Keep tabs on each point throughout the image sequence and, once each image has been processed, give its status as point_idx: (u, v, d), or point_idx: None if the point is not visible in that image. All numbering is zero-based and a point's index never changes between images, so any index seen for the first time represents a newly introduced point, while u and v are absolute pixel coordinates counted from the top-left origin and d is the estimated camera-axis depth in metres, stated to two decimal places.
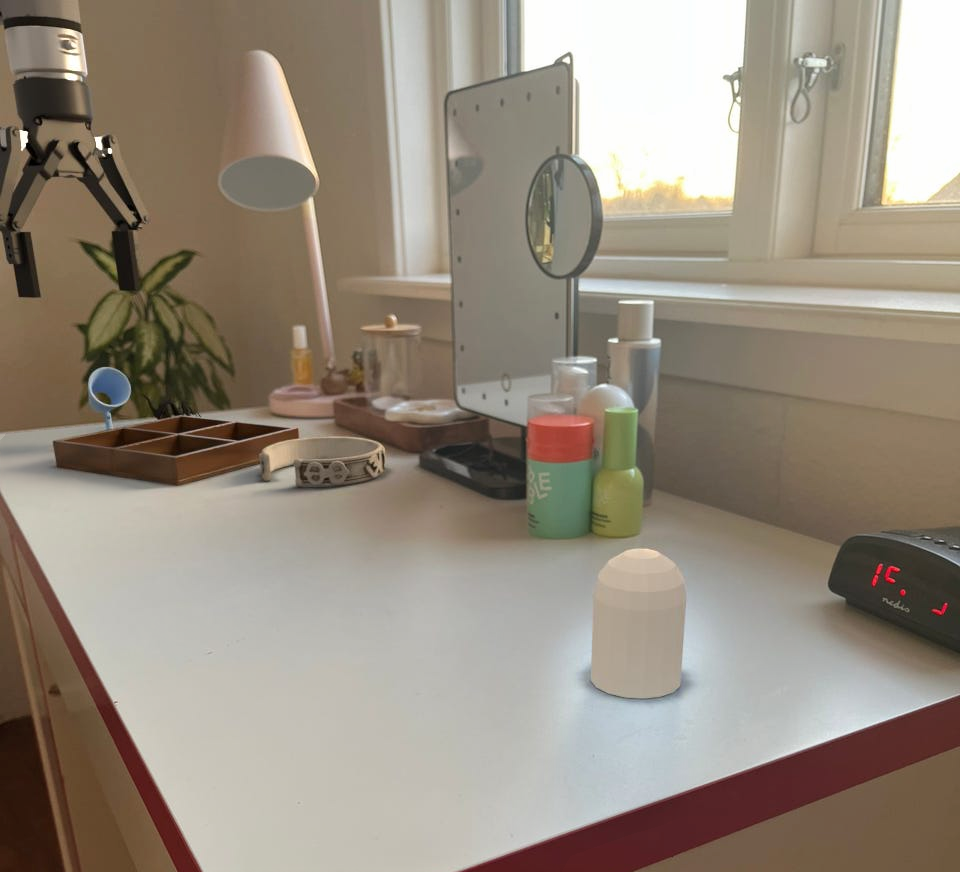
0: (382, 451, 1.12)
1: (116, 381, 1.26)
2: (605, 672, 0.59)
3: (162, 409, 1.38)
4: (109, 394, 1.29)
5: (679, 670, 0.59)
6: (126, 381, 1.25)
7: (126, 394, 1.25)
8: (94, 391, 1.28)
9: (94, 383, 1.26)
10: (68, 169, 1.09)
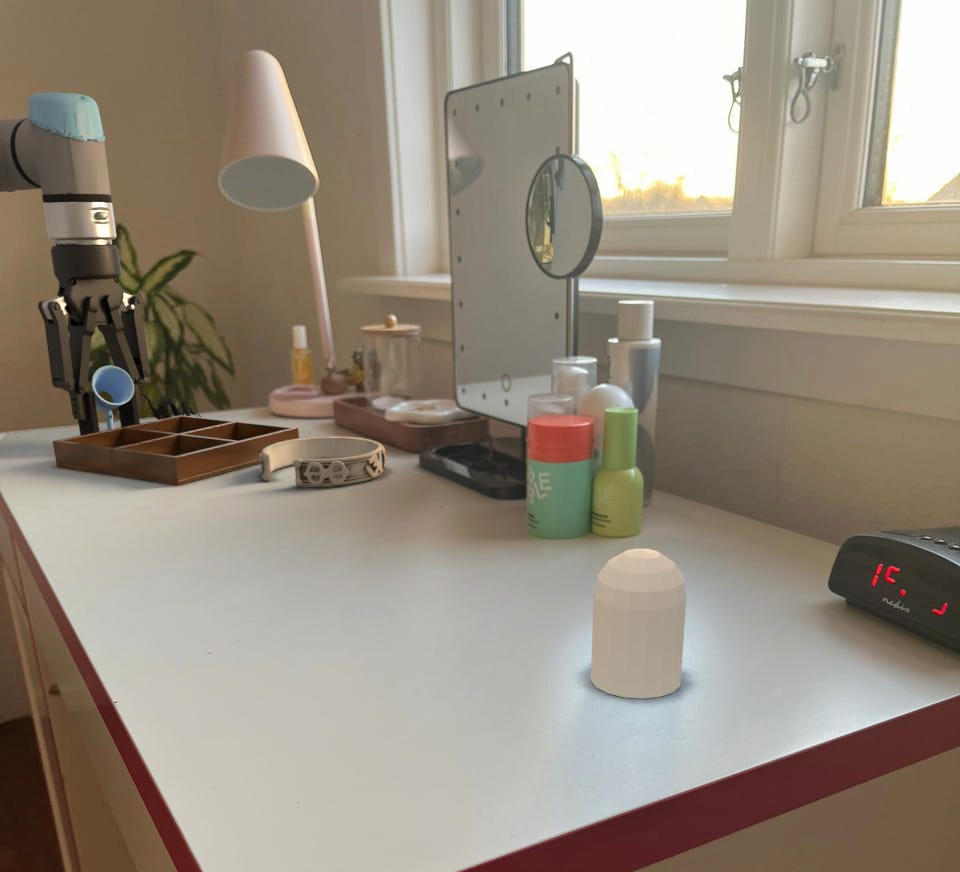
0: (382, 451, 1.12)
1: (119, 380, 1.27)
2: (605, 672, 0.59)
3: (162, 409, 1.38)
4: (112, 393, 1.29)
5: (679, 670, 0.59)
6: (130, 380, 1.26)
7: (129, 393, 1.26)
8: (97, 390, 1.28)
9: (98, 381, 1.26)
10: (98, 320, 1.22)
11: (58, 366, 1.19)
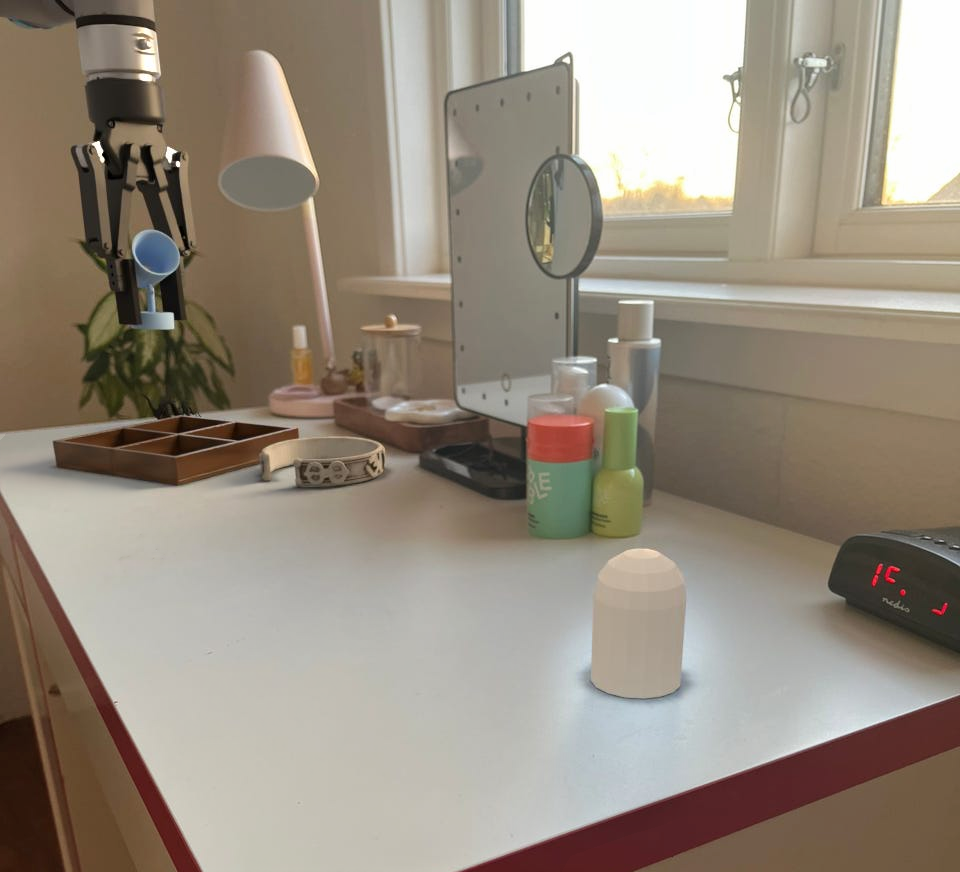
0: (382, 451, 1.12)
1: (162, 250, 1.10)
2: (605, 672, 0.59)
3: (162, 409, 1.38)
4: (152, 268, 1.12)
5: (679, 670, 0.59)
6: (175, 248, 1.08)
7: (174, 263, 1.09)
8: None
9: (137, 250, 1.09)
10: (140, 174, 1.05)
11: (94, 224, 1.02)
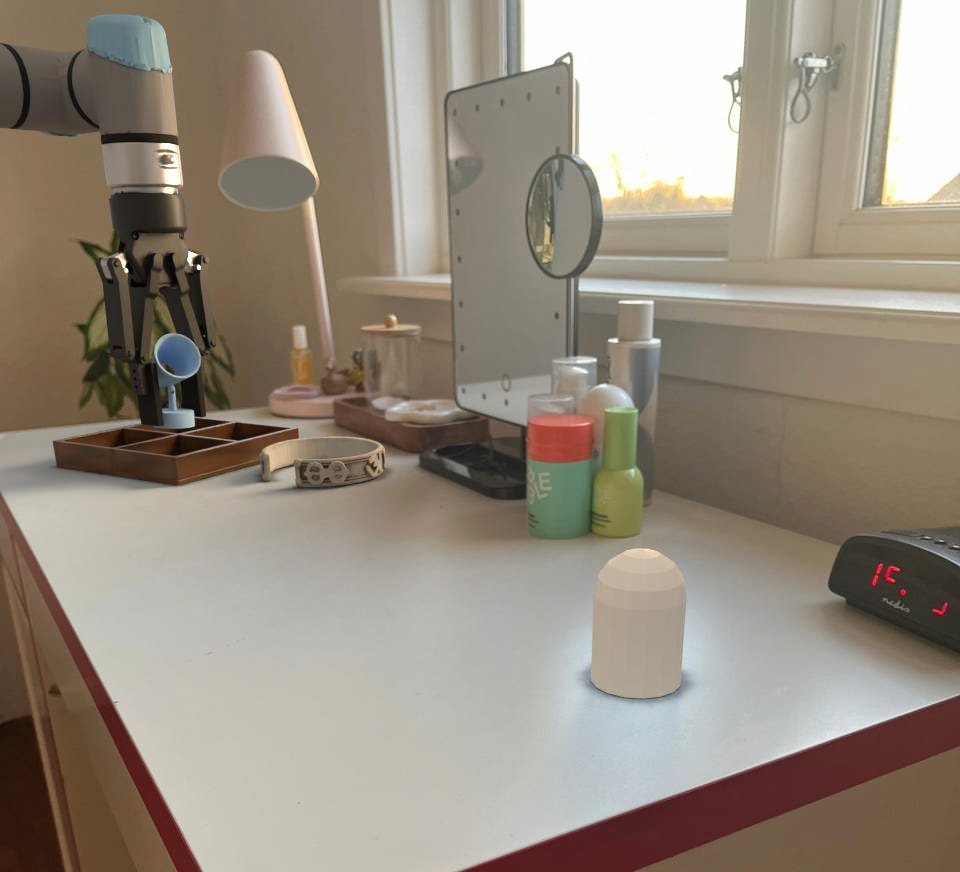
0: (382, 451, 1.12)
1: (183, 351, 1.12)
2: (605, 672, 0.59)
3: None
4: (173, 366, 1.14)
5: (679, 670, 0.59)
6: (196, 351, 1.11)
7: (195, 365, 1.11)
8: None
9: (159, 352, 1.11)
10: (162, 280, 1.07)
11: (118, 333, 1.05)
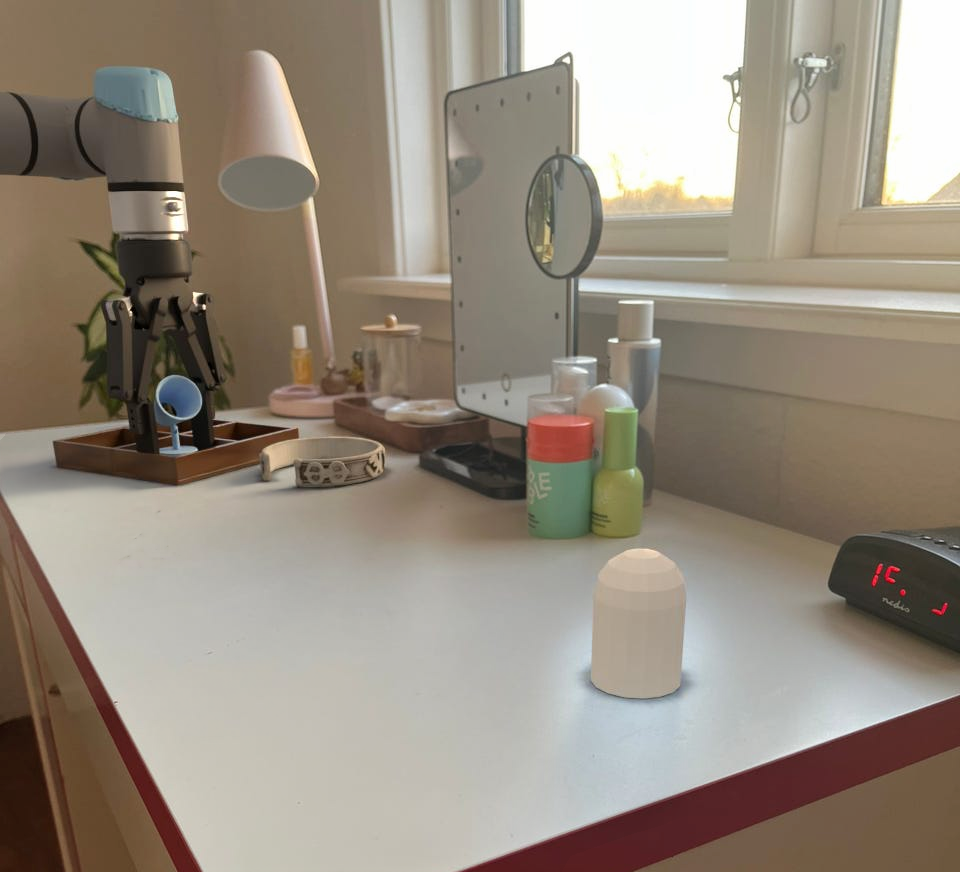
0: (382, 451, 1.12)
1: (184, 391, 1.13)
2: (605, 672, 0.59)
3: None
4: (175, 405, 1.15)
5: (679, 670, 0.59)
6: (196, 391, 1.12)
7: (196, 405, 1.12)
8: (159, 402, 1.14)
9: (160, 393, 1.12)
10: (167, 324, 1.09)
11: (117, 373, 1.05)
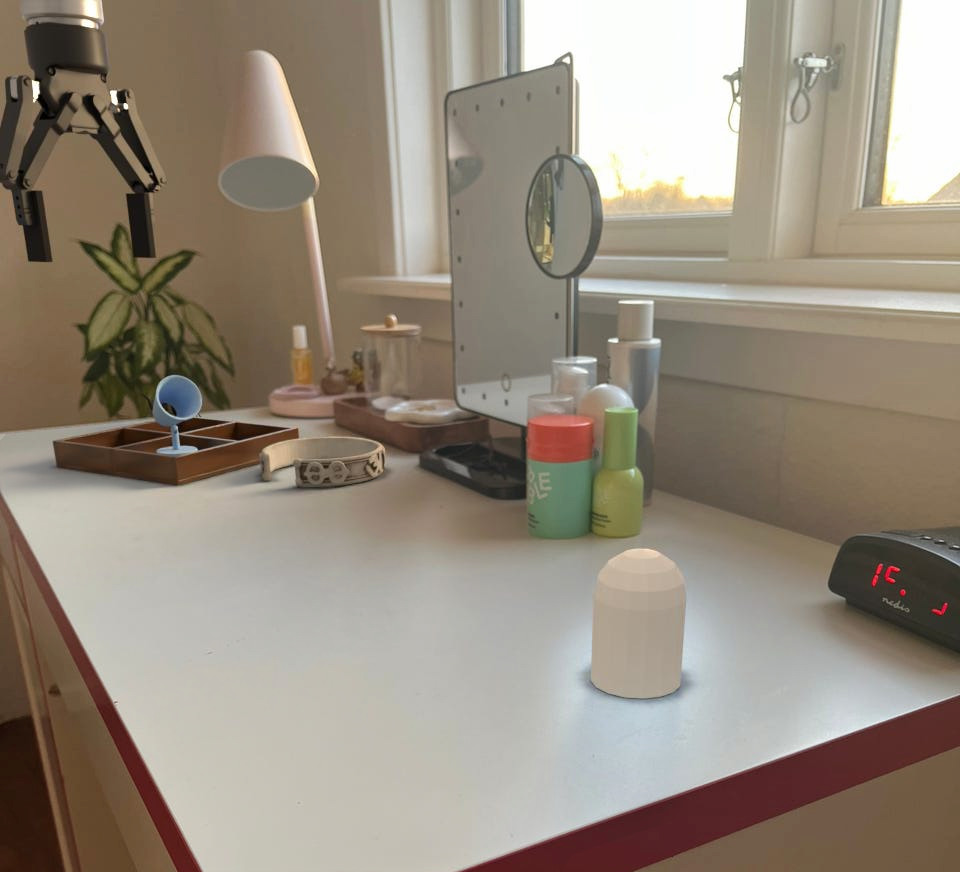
0: (382, 451, 1.12)
1: (184, 391, 1.13)
2: (605, 672, 0.59)
3: None
4: (175, 405, 1.15)
5: (679, 670, 0.59)
6: (197, 391, 1.12)
7: (196, 405, 1.12)
8: None
9: (160, 393, 1.12)
10: (82, 124, 1.02)
11: (4, 151, 0.96)
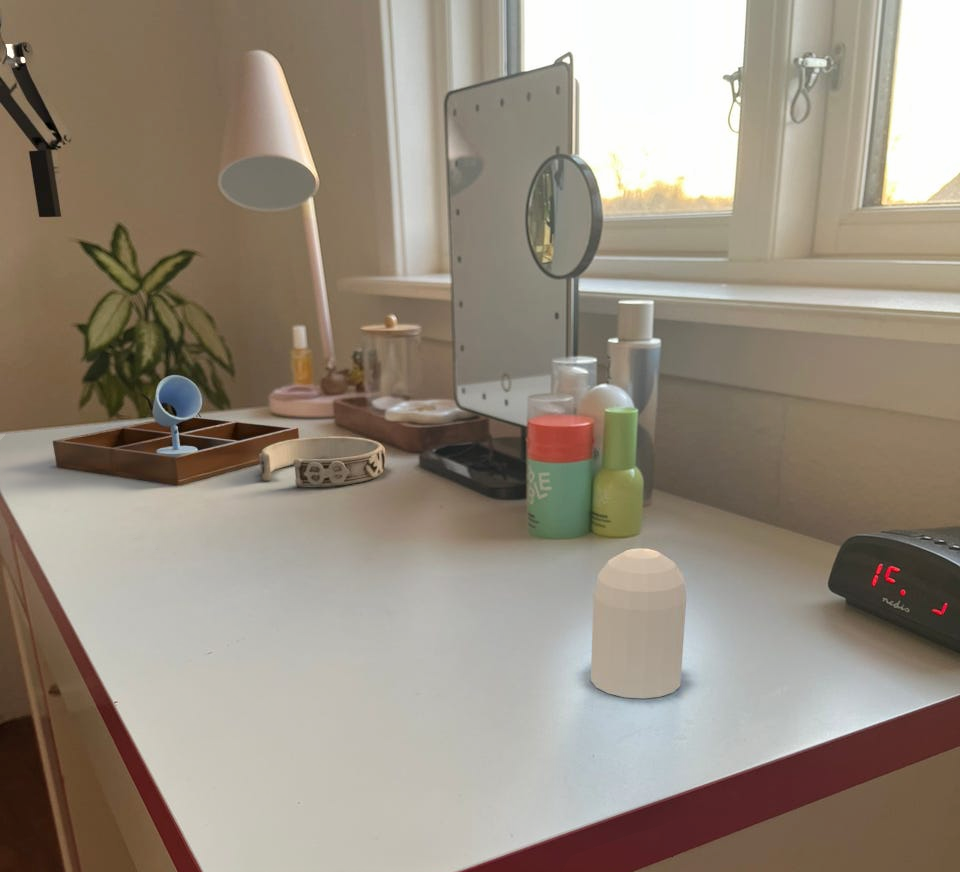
0: (382, 451, 1.12)
1: (184, 391, 1.13)
2: (605, 672, 0.59)
3: None
4: (175, 405, 1.15)
5: (679, 670, 0.59)
6: (196, 391, 1.12)
7: (196, 405, 1.12)
8: None
9: (160, 393, 1.12)
10: None
11: None
